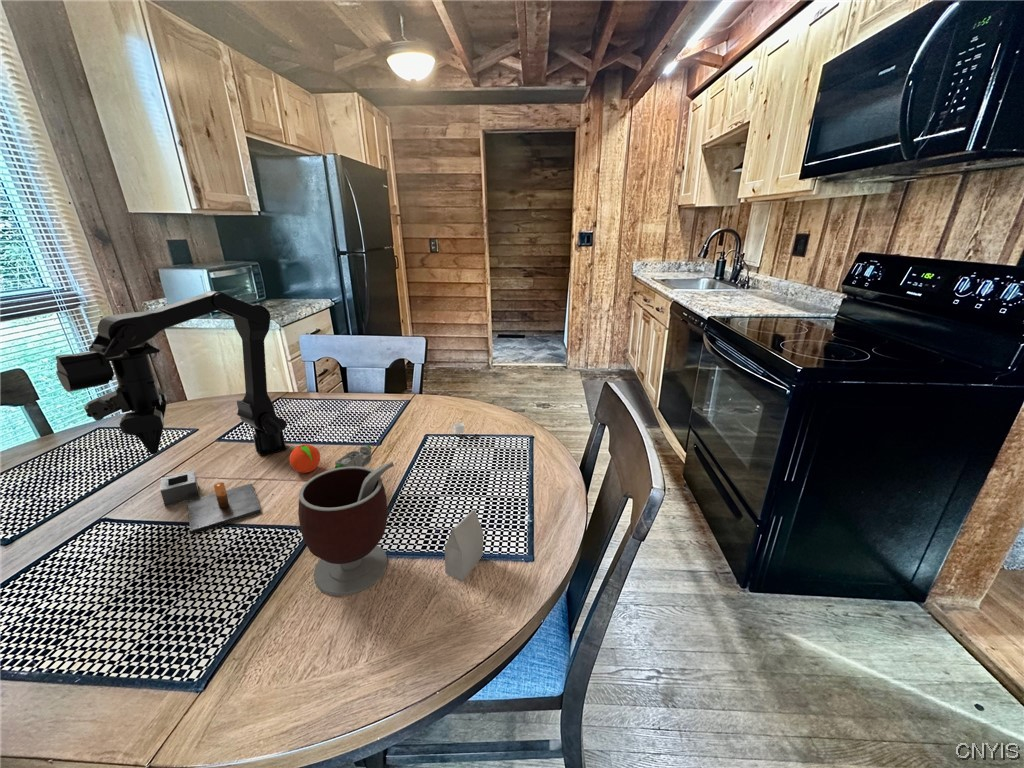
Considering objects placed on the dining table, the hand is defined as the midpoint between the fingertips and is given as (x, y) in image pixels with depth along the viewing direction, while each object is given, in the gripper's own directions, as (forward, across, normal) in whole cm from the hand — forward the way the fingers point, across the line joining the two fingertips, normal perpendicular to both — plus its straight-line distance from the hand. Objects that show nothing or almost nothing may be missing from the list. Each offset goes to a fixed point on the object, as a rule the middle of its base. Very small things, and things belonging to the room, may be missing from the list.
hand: (155, 444), depth 91 cm
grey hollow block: (+12, +4, +2) cm, 13 cm away
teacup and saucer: (+13, +14, +69) cm, 71 cm away
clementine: (+12, +8, +28) cm, 31 cm away
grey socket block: (+12, +15, +10) cm, 21 cm away
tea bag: (+12, +58, +44) cm, 74 cm away
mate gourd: (+12, +47, +28) cm, 56 cm away
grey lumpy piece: (+12, +24, +35) cm, 44 cm away
